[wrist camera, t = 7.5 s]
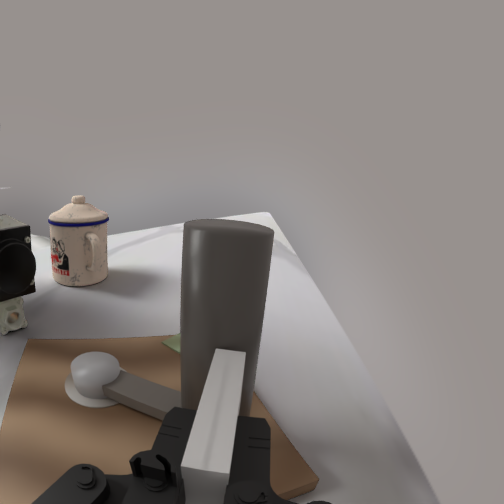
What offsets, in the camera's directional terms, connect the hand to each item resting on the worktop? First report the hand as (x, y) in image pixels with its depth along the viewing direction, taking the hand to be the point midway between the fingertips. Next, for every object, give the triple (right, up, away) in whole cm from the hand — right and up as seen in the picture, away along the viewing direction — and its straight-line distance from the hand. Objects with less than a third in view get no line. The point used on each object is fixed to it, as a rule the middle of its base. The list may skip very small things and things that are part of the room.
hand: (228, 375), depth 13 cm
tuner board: (-7, -6, +5) cm, 10 cm away
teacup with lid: (-23, +1, +27) cm, 35 cm away
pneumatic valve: (-24, -2, +11) cm, 27 cm away
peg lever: (-5, -5, +5) cm, 8 cm away
